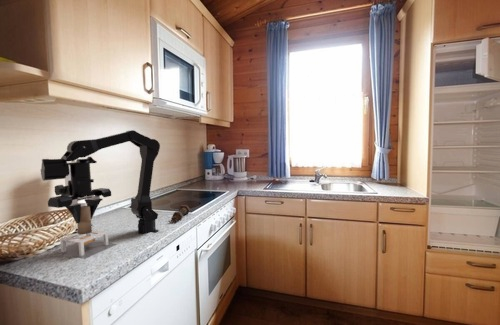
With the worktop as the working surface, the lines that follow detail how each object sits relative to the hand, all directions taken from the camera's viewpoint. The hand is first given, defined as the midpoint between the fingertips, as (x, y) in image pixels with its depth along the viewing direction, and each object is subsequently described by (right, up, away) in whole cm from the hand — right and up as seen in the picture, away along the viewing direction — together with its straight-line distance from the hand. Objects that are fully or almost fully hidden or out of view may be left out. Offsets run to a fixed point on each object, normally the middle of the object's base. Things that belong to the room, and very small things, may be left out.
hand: (84, 221), depth 87 cm
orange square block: (0, -8, 0) cm, 8 cm away
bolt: (+23, -8, +38) cm, 45 cm away
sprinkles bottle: (-12, -10, +19) cm, 25 cm away
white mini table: (0, -11, +1) cm, 11 cm away
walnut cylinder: (0, -4, 0) cm, 4 cm away
